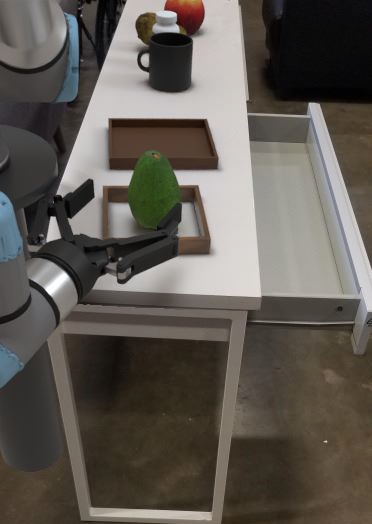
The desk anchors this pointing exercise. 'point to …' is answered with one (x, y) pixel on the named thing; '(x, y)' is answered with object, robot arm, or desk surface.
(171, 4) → the fruit
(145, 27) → the potato
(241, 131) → the desk surface
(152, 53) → the mug
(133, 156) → the tray
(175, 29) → the pill bottle
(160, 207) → the avocado
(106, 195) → the wooden frame
